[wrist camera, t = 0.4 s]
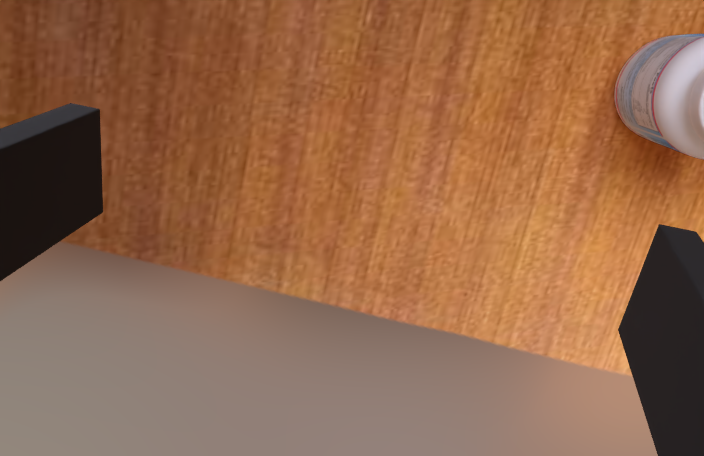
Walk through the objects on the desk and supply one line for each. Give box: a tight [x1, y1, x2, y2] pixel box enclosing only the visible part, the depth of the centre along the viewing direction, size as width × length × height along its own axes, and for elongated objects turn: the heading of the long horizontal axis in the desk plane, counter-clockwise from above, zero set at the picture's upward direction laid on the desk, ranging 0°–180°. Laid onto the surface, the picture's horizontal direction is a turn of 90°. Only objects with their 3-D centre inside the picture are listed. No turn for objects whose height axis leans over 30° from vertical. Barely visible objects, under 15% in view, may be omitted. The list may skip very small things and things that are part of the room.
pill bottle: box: [614, 34, 704, 159], centre depth 32 cm, size 6×6×11 cm
